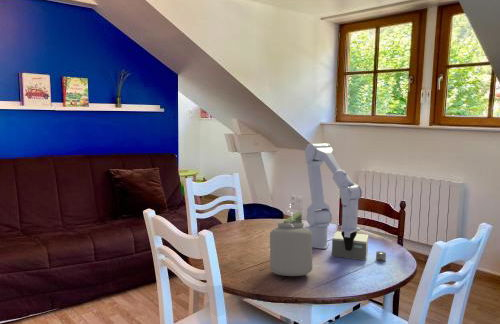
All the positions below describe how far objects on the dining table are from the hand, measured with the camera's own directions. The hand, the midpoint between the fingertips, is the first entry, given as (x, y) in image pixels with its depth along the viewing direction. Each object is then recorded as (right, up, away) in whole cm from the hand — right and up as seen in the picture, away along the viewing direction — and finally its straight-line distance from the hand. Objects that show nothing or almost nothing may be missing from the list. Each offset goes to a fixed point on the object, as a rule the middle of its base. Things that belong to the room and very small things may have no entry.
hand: (348, 250), depth 161 cm
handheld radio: (-19, +1, +40) cm, 44 cm away
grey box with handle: (+2, -3, +6) cm, 7 cm away
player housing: (+2, -3, +7) cm, 8 cm away
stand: (+13, -4, 0) cm, 13 cm away
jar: (-24, -6, -13) cm, 28 cm away
